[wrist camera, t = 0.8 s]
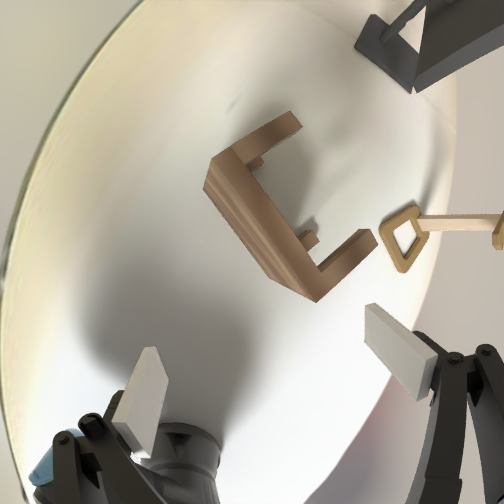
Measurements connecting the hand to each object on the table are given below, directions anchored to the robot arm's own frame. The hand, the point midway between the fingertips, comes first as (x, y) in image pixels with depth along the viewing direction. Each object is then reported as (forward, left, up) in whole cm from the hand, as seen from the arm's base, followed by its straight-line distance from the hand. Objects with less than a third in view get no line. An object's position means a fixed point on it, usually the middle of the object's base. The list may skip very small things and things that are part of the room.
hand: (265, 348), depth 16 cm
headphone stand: (+31, -15, -24) cm, 42 cm away
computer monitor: (+60, +18, -24) cm, 67 cm away
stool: (+10, +4, -24) cm, 27 cm away
